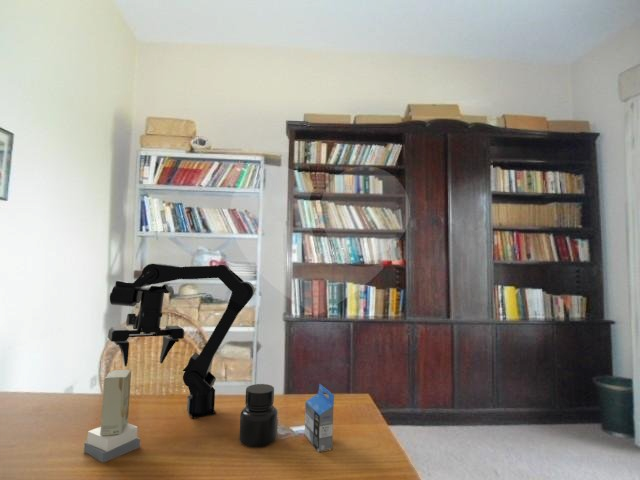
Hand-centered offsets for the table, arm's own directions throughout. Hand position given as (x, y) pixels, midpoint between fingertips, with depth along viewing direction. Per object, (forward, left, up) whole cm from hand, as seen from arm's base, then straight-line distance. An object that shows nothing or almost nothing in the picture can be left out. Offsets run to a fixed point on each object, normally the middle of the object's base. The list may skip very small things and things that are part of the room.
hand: (143, 364), depth 101 cm
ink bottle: (-23, +29, -14) cm, 39 cm away
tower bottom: (+7, +18, -14) cm, 24 cm away
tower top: (+7, +18, -11) cm, 22 cm away
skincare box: (+7, +18, -9) cm, 21 cm away
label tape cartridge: (-35, +37, -14) cm, 52 cm away
